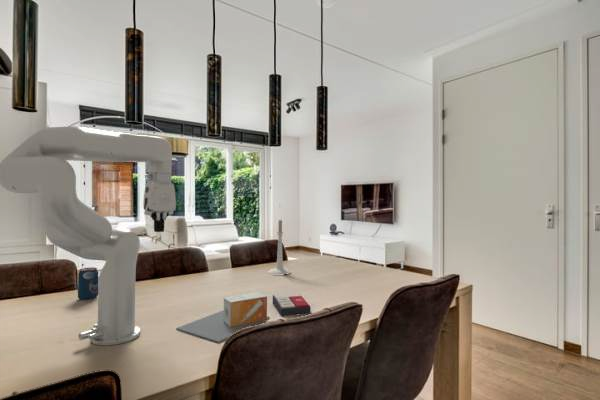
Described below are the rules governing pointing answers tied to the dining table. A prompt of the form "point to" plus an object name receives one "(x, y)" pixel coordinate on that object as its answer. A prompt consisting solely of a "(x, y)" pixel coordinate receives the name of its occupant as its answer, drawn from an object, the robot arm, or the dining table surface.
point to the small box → (245, 309)
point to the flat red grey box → (290, 304)
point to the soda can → (87, 284)
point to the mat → (213, 327)
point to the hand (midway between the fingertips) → (159, 231)
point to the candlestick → (279, 255)
